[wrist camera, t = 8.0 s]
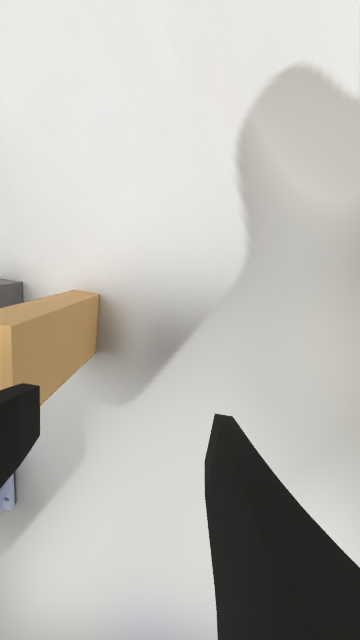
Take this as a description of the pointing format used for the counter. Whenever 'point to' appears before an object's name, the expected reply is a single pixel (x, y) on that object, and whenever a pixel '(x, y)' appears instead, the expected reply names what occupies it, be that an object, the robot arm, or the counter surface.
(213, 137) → the counter surface
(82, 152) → the counter surface
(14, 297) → the slate domino
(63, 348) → the ochre domino
